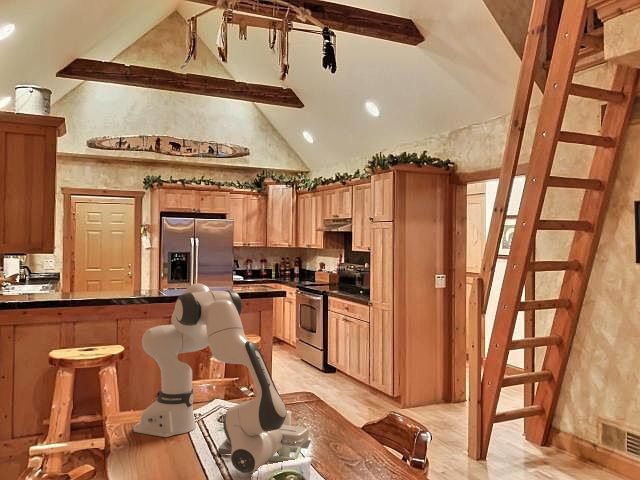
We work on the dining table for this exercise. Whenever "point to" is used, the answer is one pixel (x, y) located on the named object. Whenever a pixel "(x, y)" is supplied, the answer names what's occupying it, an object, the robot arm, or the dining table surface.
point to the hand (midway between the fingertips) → (285, 424)
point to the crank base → (225, 448)
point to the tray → (281, 458)
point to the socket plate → (305, 444)
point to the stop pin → (285, 449)
